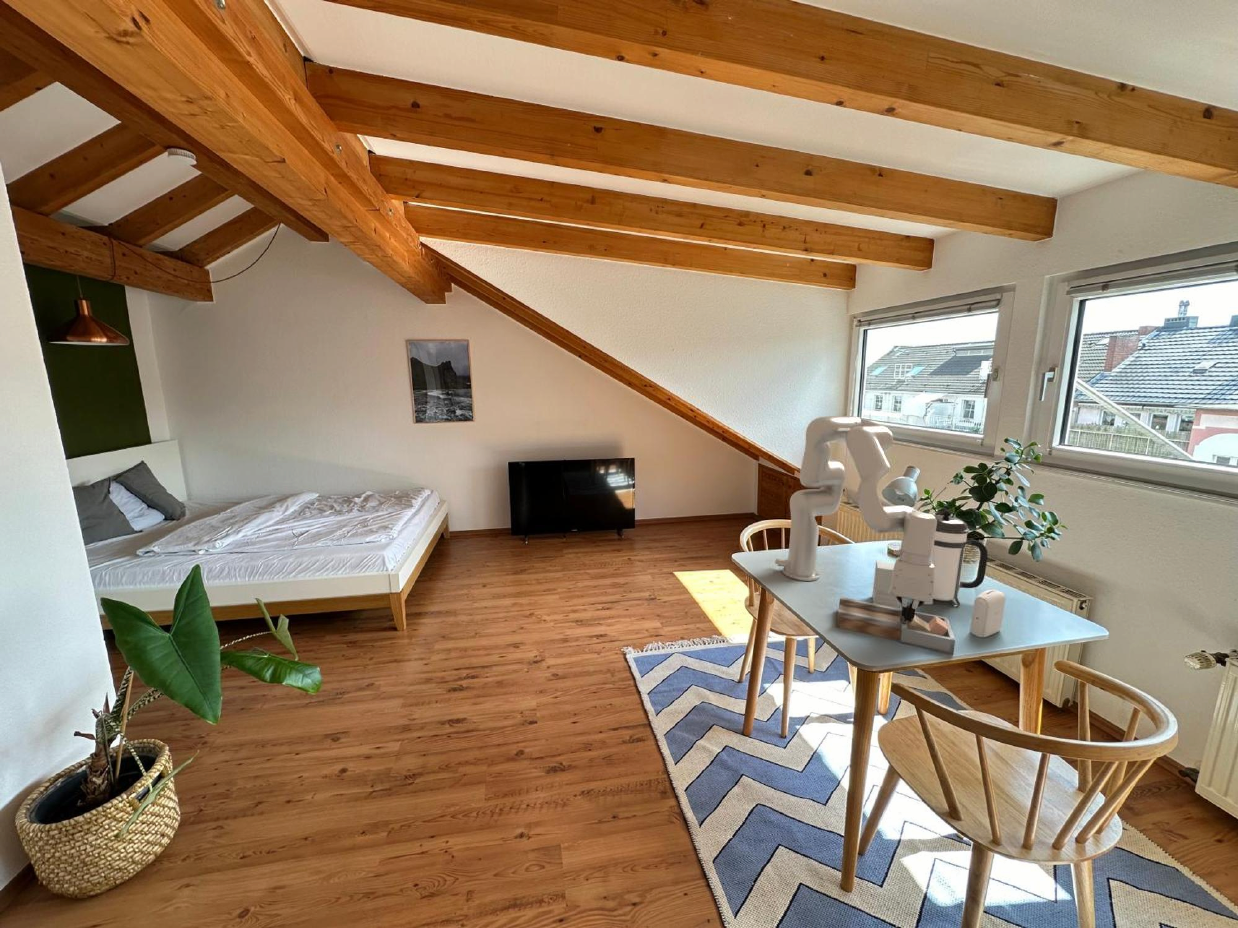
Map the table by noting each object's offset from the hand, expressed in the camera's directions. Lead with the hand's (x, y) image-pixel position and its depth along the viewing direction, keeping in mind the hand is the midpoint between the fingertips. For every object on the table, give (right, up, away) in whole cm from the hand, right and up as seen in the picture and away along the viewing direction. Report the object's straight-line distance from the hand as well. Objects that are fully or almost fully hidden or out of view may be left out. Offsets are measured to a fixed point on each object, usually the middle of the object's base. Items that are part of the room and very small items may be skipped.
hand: (907, 619), depth 137 cm
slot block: (-9, -3, +5) cm, 10 cm away
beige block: (+2, -3, -1) cm, 3 cm away
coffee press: (+25, -1, +24) cm, 34 cm away
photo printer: (+24, -5, +3) cm, 24 cm away
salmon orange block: (+5, -1, -2) cm, 6 cm away
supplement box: (+5, -1, +20) cm, 20 cm away
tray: (+4, -4, -1) cm, 6 cm away
